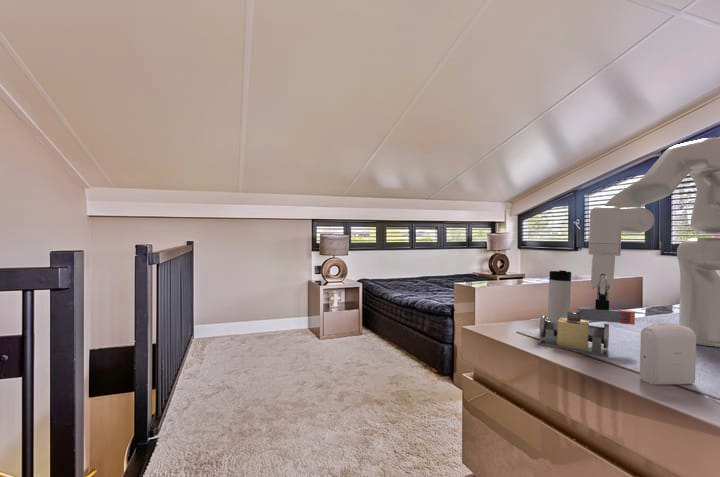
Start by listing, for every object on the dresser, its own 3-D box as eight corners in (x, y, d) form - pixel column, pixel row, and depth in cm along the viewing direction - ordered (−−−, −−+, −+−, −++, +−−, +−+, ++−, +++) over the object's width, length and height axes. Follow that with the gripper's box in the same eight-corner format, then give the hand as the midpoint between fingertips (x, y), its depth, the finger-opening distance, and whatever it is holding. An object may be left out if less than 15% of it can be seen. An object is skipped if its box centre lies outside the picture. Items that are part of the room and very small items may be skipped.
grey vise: (607, 347, 96) (608, 321, 96) (608, 357, 88) (609, 328, 88) (543, 336, 106) (544, 312, 106) (538, 344, 97) (539, 318, 97)
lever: (568, 320, 96) (569, 307, 96) (565, 318, 99) (565, 305, 99) (635, 326, 91) (636, 312, 91) (629, 323, 94) (630, 310, 94)
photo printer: (654, 386, 71) (656, 325, 71) (635, 377, 75) (637, 320, 75) (699, 385, 72) (701, 326, 72) (678, 377, 76) (680, 321, 76)
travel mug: (550, 332, 111) (552, 270, 111) (545, 327, 117) (547, 268, 117) (572, 334, 109) (574, 271, 109) (566, 329, 115) (568, 269, 115)
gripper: (589, 249, 108) (587, 308, 108) (587, 249, 95) (584, 316, 95) (619, 250, 103) (617, 312, 103) (621, 251, 91) (618, 320, 91)
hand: (601, 313), depth 99 cm, fingers closed
